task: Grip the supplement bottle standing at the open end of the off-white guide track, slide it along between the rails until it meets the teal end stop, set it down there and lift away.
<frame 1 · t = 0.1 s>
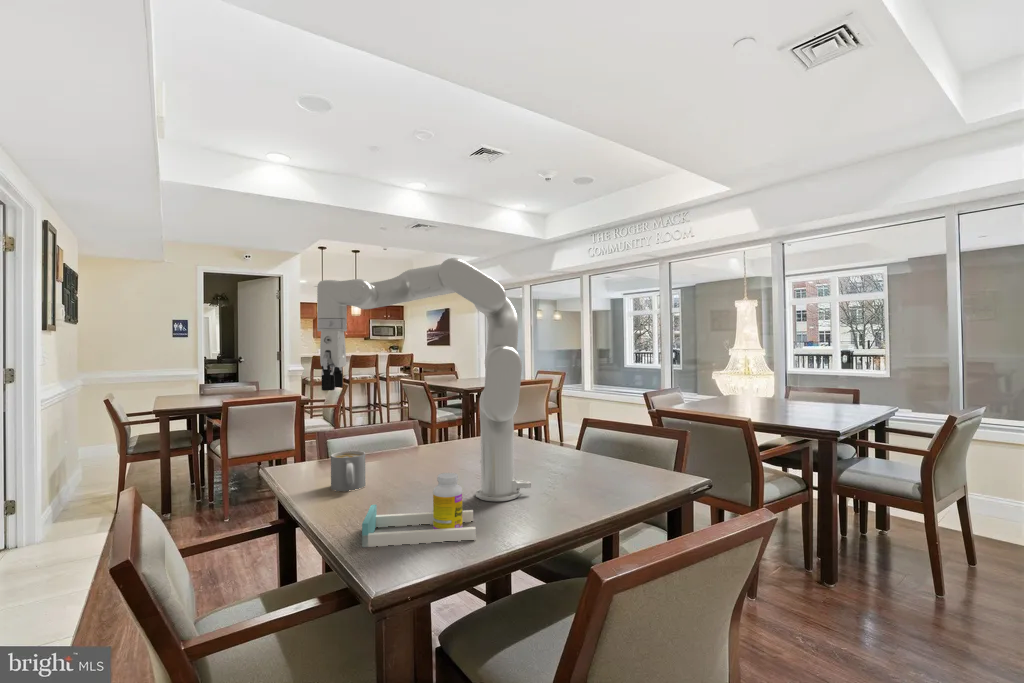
hand: (332, 388, 132), 31 cm above the table, tool pointing down, fingers open, 9 cm apart
coffee mug: (347, 489, 145), on the table
guide track: (417, 533, 110), on the table
supplement bottle: (448, 532, 111), on the table
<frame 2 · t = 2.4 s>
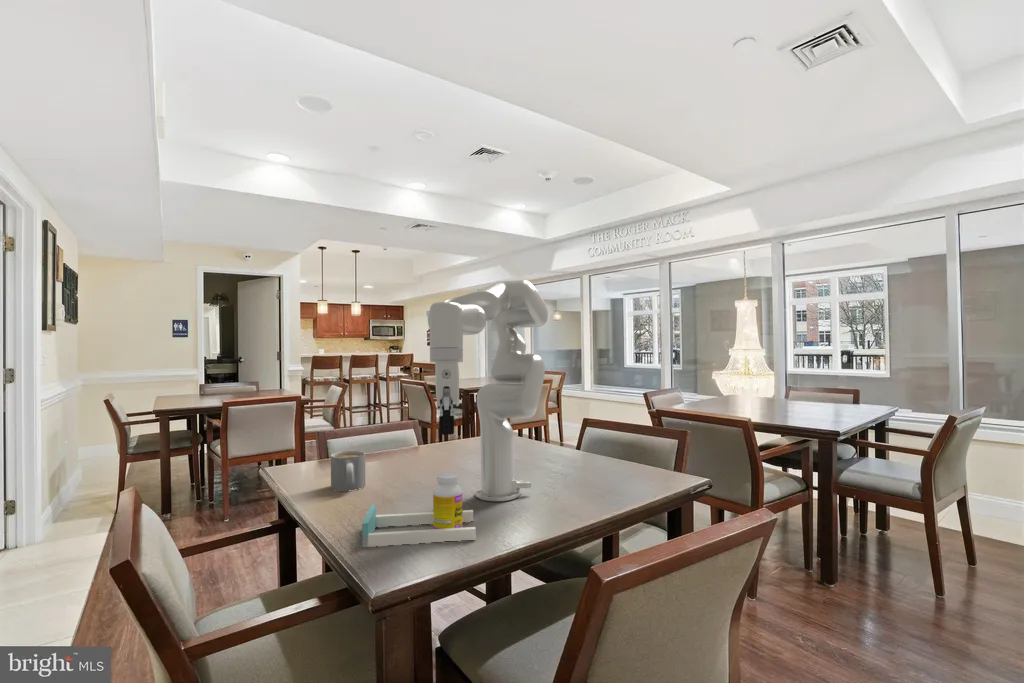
hand: (446, 430, 111), 23 cm above the table, tool pointing down, fingers open, 9 cm apart
nothing on the table moved.
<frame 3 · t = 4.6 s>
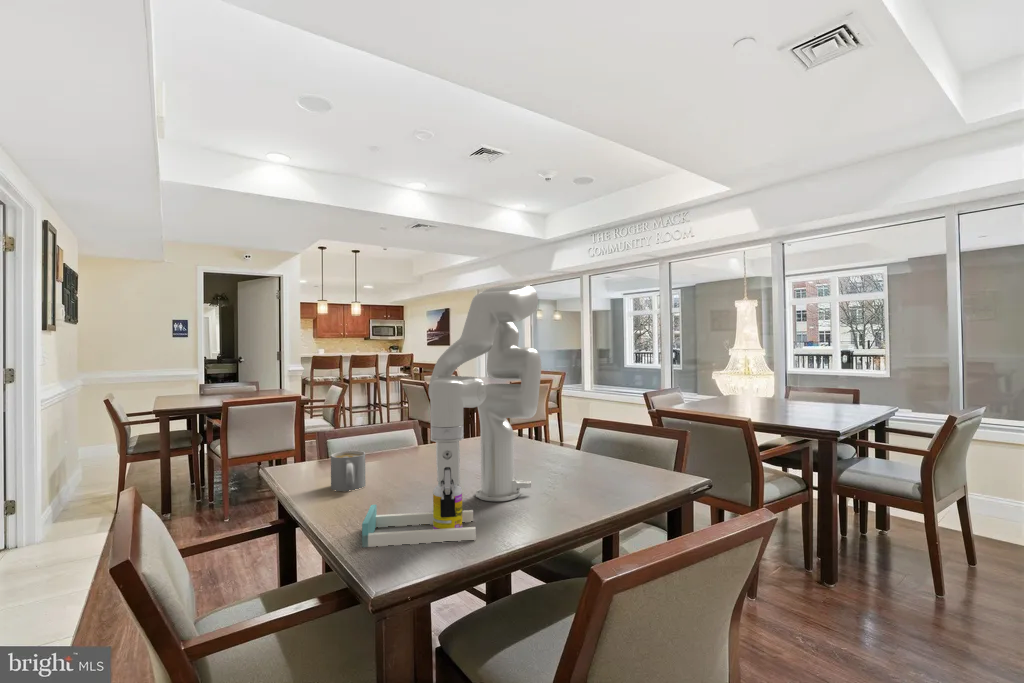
hand: (447, 510, 111), 5 cm above the table, tool pointing down, fingers closed on supplement bottle, 6 cm apart
supplement bottle: (448, 532, 111), on the table, touching gripper
everything else where it was.
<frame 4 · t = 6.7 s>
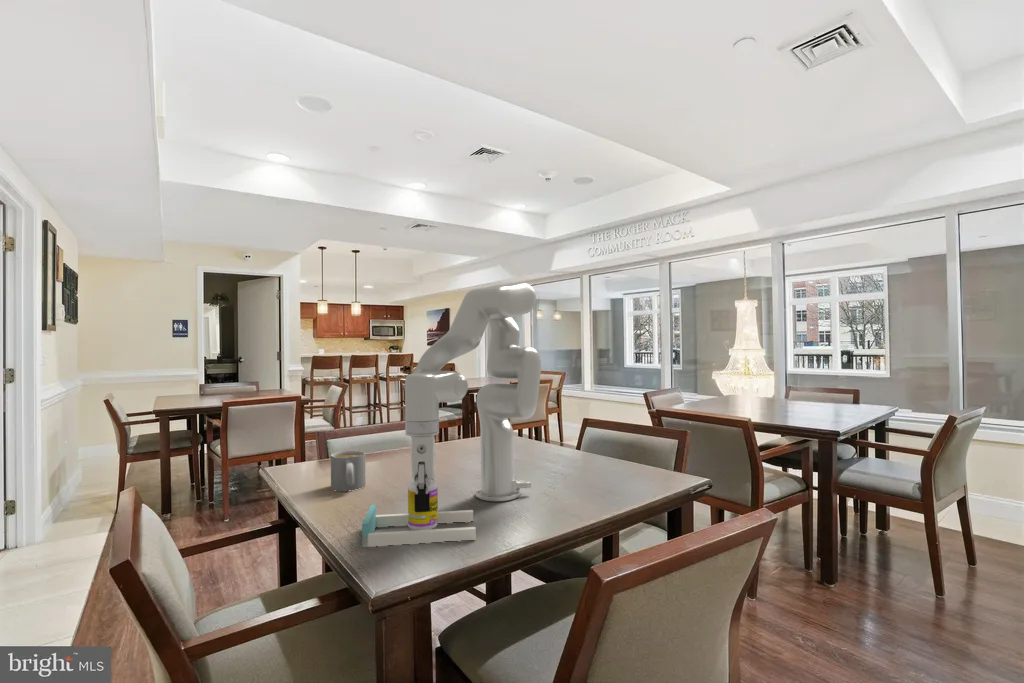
hand: (422, 505, 110), 6 cm above the table, tool pointing down, fingers closed on supplement bottle, 6 cm apart
supplement bottle: (423, 527, 110), point 1 cm above the table, touching gripper
everything else where it was.
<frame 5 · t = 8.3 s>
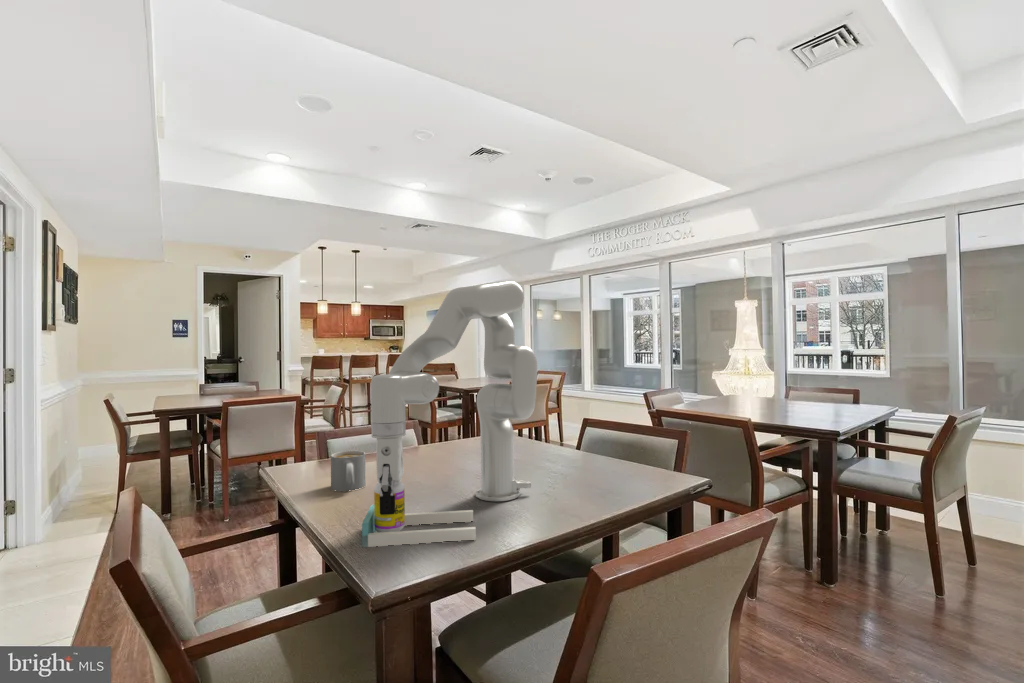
hand: (389, 507, 109), 6 cm above the table, tool pointing down, fingers closed on supplement bottle, 6 cm apart
supplement bottle: (389, 529, 109), point 1 cm above the table, touching gripper
everything else where it was.
when the fingers open (5 cm above the table, at t = 9.3 s): supplement bottle stays where it is, on the table.
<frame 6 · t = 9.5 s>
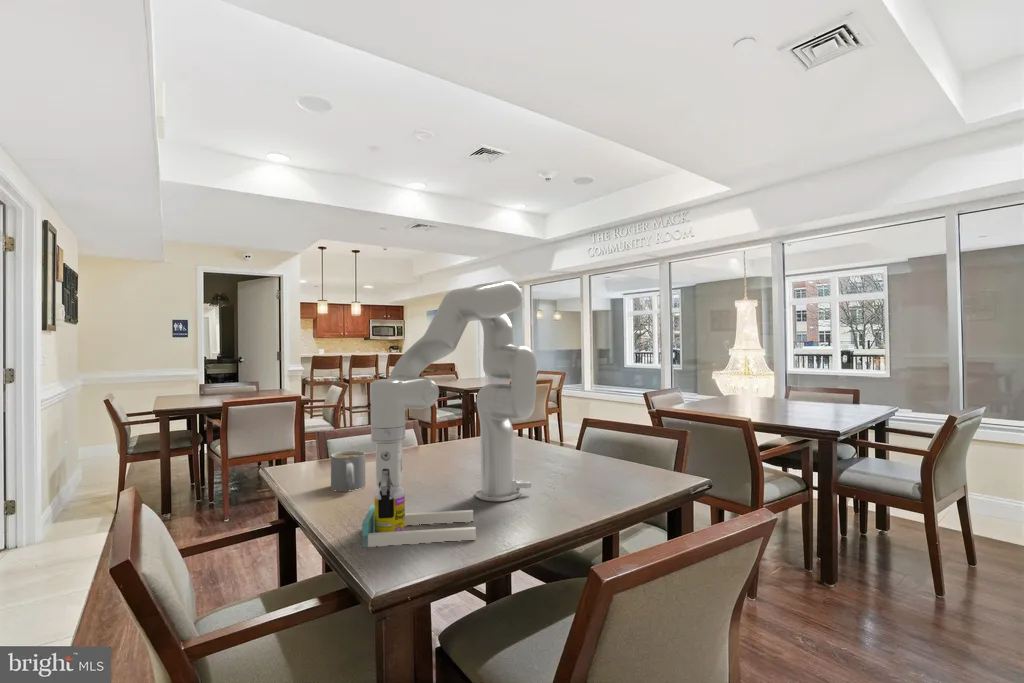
hand: (388, 510, 109), 6 cm above the table, tool pointing down, fingers open, 9 cm apart
supplement bottle: (389, 535, 109), on the table
everything else where it was.
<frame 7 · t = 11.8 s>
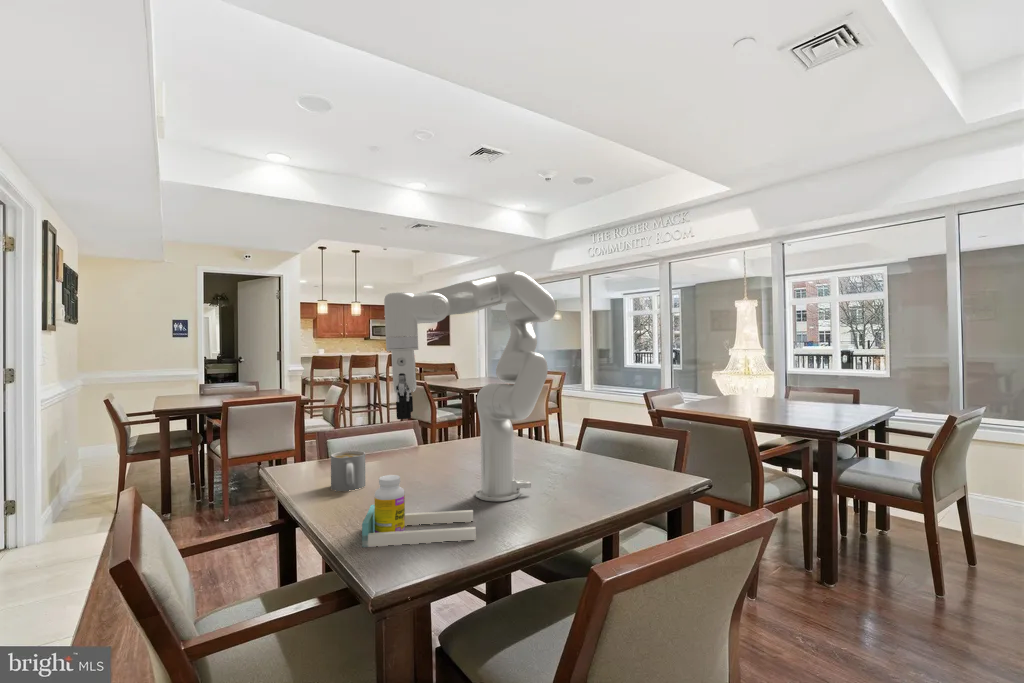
hand: (405, 415, 116), 26 cm above the table, tool pointing down, fingers open, 9 cm apart
nothing on the table moved.
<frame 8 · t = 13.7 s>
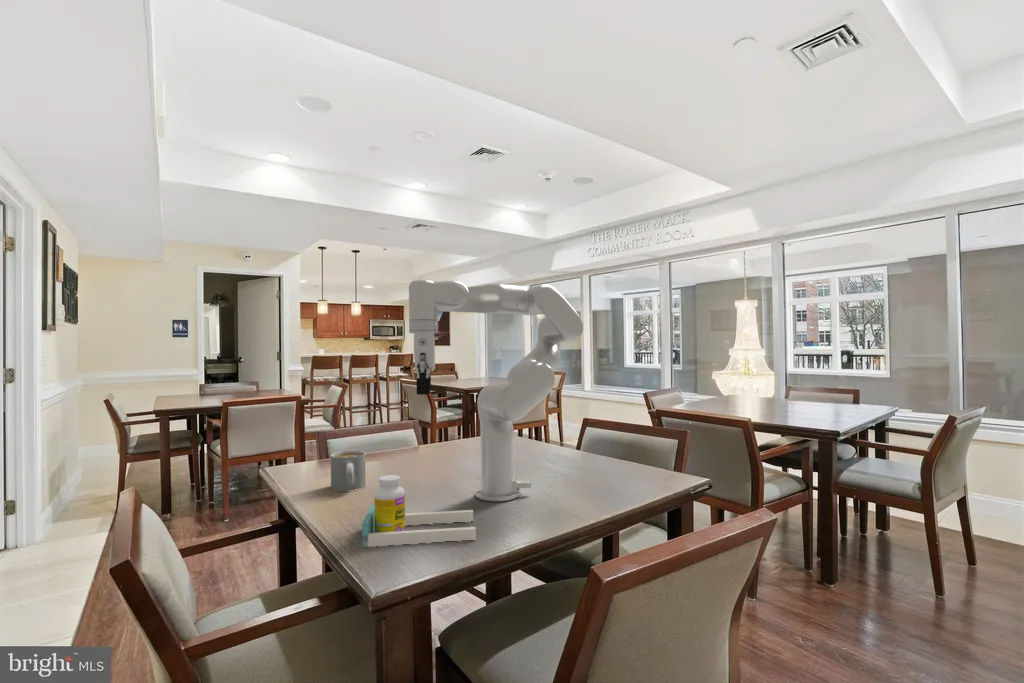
hand: (424, 392, 127), 30 cm above the table, tool pointing down, fingers open, 9 cm apart
nothing on the table moved.
at the end: supplement bottle 0.3 cm from the target spot, on the table; supplement bottle tilted 0°; the gripper is holding nothing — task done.
